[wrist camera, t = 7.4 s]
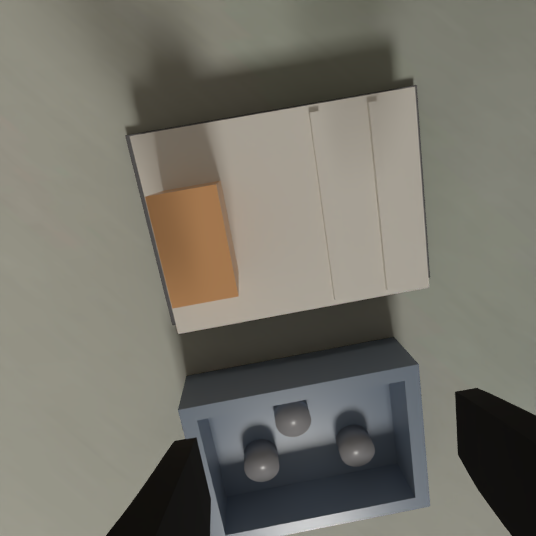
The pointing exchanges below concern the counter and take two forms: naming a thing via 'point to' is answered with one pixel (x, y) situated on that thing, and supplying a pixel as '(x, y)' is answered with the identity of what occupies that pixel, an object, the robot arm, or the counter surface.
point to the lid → (287, 209)
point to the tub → (310, 439)
